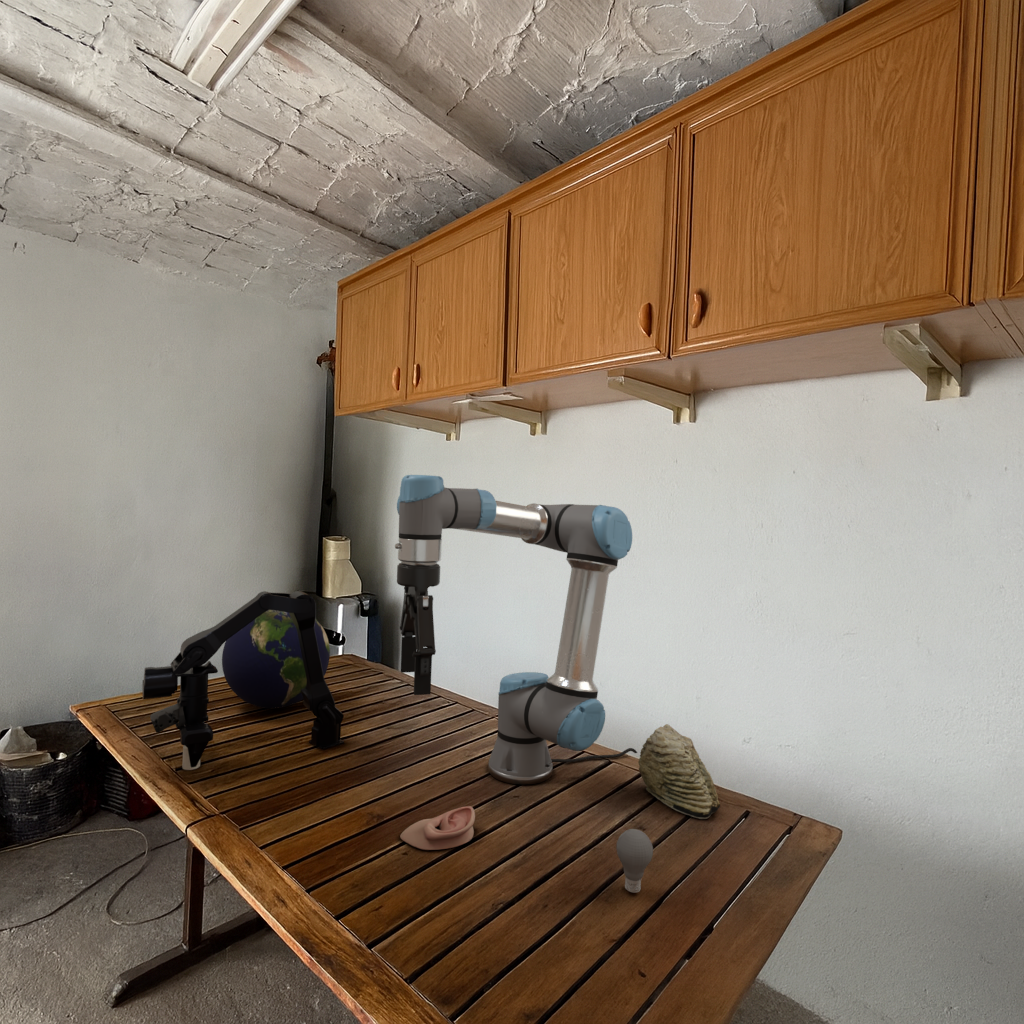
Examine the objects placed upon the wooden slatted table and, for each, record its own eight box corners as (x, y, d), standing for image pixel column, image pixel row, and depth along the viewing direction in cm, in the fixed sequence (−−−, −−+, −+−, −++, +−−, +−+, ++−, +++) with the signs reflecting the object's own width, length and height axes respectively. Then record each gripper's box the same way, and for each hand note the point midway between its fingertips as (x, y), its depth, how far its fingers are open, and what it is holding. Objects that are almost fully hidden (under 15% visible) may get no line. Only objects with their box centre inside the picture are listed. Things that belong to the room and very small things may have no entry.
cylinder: (188, 762, 147) (188, 741, 147) (203, 763, 147) (203, 742, 147) (178, 769, 144) (179, 747, 144) (194, 770, 144) (195, 749, 143)
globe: (289, 685, 209) (292, 594, 208) (348, 705, 191) (352, 606, 191) (199, 706, 185) (203, 604, 184) (258, 732, 167) (262, 619, 167)
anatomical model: (394, 823, 116) (416, 795, 127) (393, 845, 116) (415, 815, 127) (464, 834, 113) (480, 805, 125) (463, 856, 113) (479, 825, 125)
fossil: (649, 780, 149) (652, 716, 148) (724, 809, 136) (728, 740, 135) (628, 791, 142) (631, 725, 142) (704, 823, 129) (708, 750, 129)
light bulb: (610, 879, 108) (613, 822, 108) (644, 879, 109) (647, 822, 109) (619, 902, 102) (622, 840, 102) (655, 901, 103) (658, 840, 103)
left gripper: (151, 686, 149) (148, 752, 149) (156, 710, 133) (154, 784, 133) (203, 681, 155) (201, 744, 155) (214, 703, 139) (212, 773, 139)
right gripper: (387, 555, 122) (383, 664, 123) (410, 571, 98) (405, 706, 99) (426, 555, 125) (422, 662, 125) (457, 571, 101) (452, 703, 101)
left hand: (191, 760), depth 145 cm, fingers open, 7 cm apart
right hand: (414, 682), depth 112 cm, fingers open, 13 cm apart
